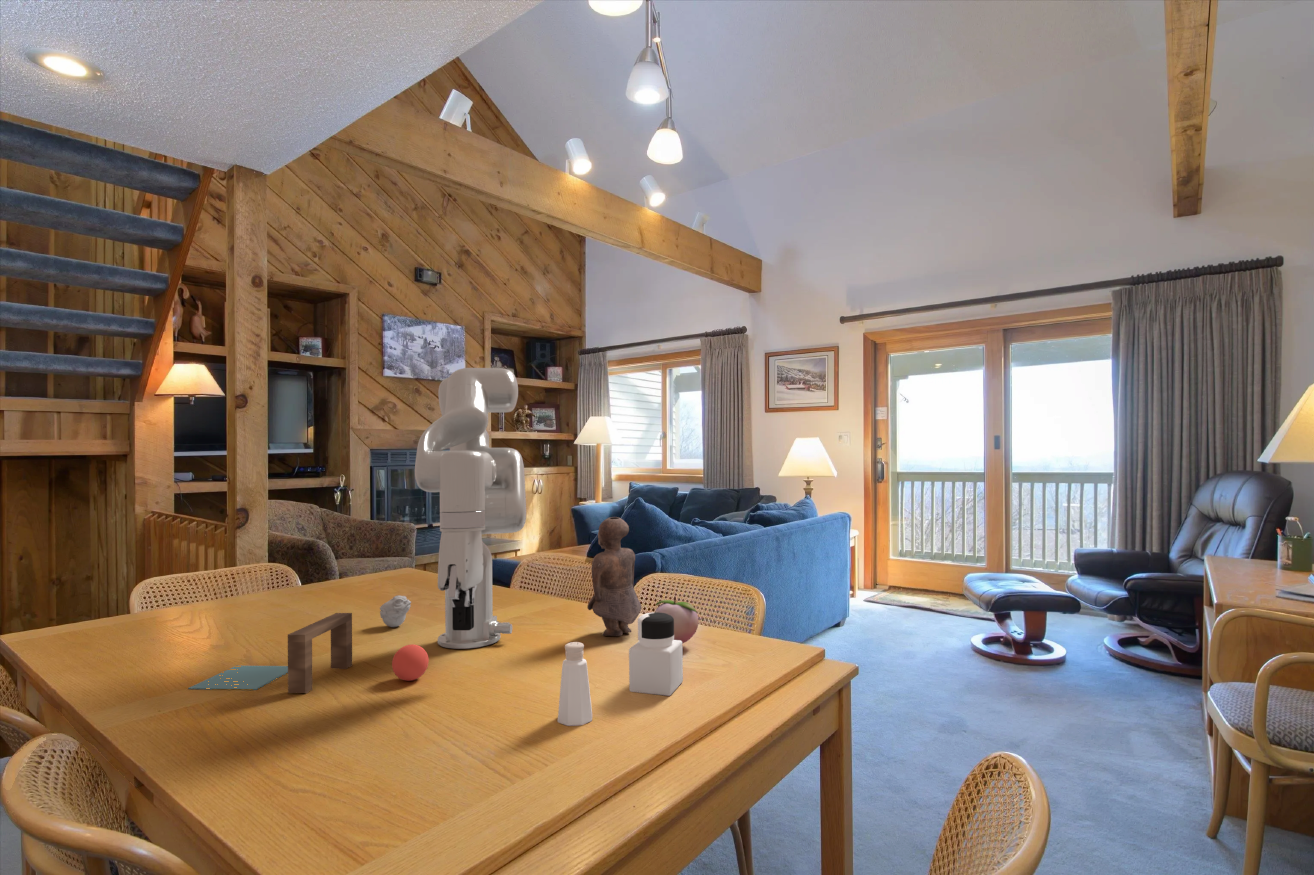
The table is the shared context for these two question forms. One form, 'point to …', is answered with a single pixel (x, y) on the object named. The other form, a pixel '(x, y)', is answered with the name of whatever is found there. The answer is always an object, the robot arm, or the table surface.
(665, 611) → the decorative fruit
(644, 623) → the medicine bottle
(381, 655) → the table surface
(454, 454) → the robot arm
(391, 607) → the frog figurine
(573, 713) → the pepper shaker
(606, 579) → the clay figurine
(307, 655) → the bridge
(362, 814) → the table surface
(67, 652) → the table surface
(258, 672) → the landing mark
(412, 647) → the ball
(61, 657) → the table surface
